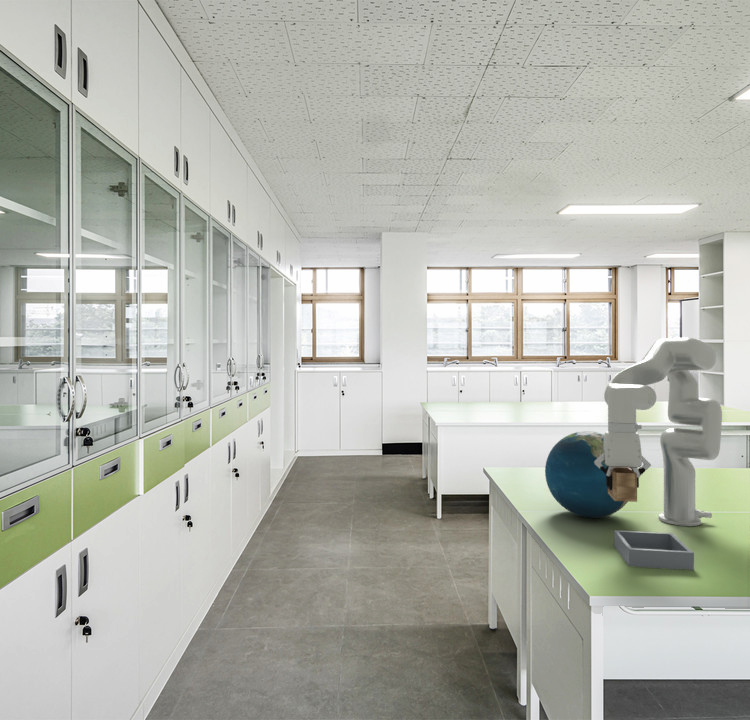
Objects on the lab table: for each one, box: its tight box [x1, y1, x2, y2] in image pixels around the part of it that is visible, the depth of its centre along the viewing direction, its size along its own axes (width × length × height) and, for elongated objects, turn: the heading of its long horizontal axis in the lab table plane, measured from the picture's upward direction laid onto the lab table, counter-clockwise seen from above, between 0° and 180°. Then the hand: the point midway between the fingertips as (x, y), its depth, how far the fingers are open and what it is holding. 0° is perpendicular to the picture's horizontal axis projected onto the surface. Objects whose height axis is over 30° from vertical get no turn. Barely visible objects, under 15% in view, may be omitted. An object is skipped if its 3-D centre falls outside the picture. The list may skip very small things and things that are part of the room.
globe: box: [544, 430, 628, 519], centre depth 190 cm, size 30×30×30 cm
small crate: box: [608, 467, 638, 503], centre depth 158 cm, size 6×9×8 cm, turn 168°
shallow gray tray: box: [613, 529, 695, 571], centre depth 151 cm, size 16×16×5 cm
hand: (622, 488), depth 158 cm, fingers closed on small crate, 6 cm apart
